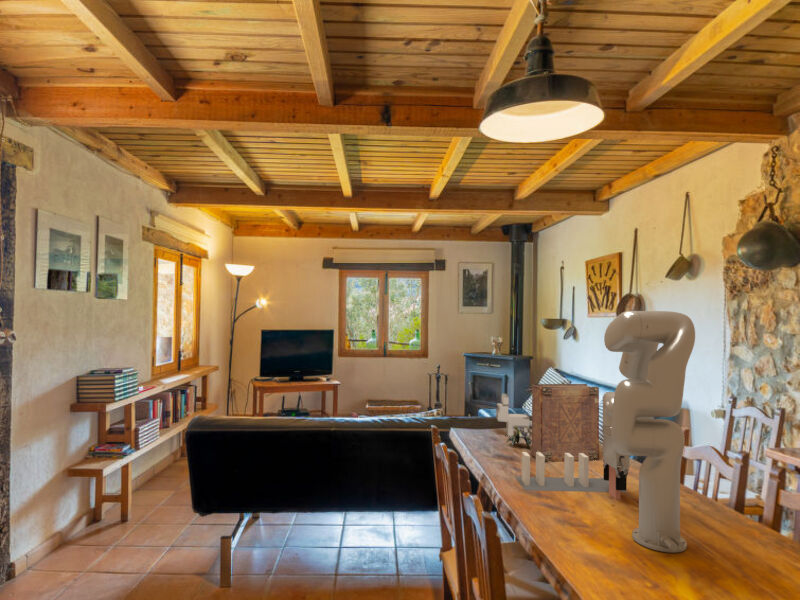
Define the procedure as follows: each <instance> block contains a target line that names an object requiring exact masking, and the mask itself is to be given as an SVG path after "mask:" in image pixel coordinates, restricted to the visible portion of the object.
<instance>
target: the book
mask: <svg viewBox="0 0 800 600" xmlns="http://www.w3.org/2000/svg"><path fill="white" fill-rule="evenodd" d="M531 386H532V387H531V421H532V427H531V432H532V434H531V440H532V441H531V457H533V456H534V457H533V458H535V459H536V452H541V453H542V454H543V455H544V456H545V463H549V462H548V461H564V455H565V453H570V454H571V455H572V456H574V462H579V453H584V454H585V455H586V456H588V457H589V462H591V461H593V460H594V461H595V460H596V461H599V460H600V388H599V387H598V386H590V385H588V384H587V383H544V384H543V383H540V384H539V383H536V384H535V383H534V384H532V385H531ZM596 461H595V462H596Z"/></svg>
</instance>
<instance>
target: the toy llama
mask: <svg viewBox="0 0 800 600" xmlns="http://www.w3.org/2000/svg"><path fill="white" fill-rule="evenodd" d="M509 398H510V397H509V395H508V393H505V392H504V393H503V392H502V393H501V402H496V405H495V406H496V409H495V410H496V411H495V416H496V417H495V418H496V421H497V422H499V423H500V422H502V423H503V422H504V423H506V424H505V425H506V427H505V430H506V431H505V433H506V432H507V434H508V436H514V430H515V426H516V425H517V427H520V428H521V429H522V430H524V431H525V432H527V431H528V430H527V428H529V429H530V428H532V420H530V416H529V415H528V414H525V413H509V403H510V402H509V401H510V399H509ZM527 435H528V436H529V437H530V433H527ZM508 436H507V437H508Z"/></svg>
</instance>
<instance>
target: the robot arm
mask: <svg viewBox="0 0 800 600" xmlns="http://www.w3.org/2000/svg"><path fill="white" fill-rule="evenodd" d="M604 332H605V333H604V336H603V337H604V338H603V339H604V341H603V342H604V346H605V347H606V349H607V350H608V351H609V352H611V353H612V352H613V353H622V354H621V358H620V362H619V366H618V370H619V372H620V373H621V375H622V376H623V377H625V378H626V379H623V380H621V381H619V382H618V383H617V385H616V387H615V389H614V390H615V391H608V392H605V393H604V394H603V397H602V435H603V441H602V442H603V443H602V452H601V453H602V461H603V464H602V467H603V478H604V480H608V481H609V465H610V466H611V467H612V468H614V469H615V470H616V474H617V477H616V490H625V491H627V483H628V482H627V481H628V480H627V479H628V474H629V470H630V466H631V464H630V456H631V457H632V456H633V457H635V456H636V457H645V459H644V460H643V462H642V463H641V465H640V467H639V473H638V527H637V528H634V529H633V530H632V533H631V535H632V536H631V537H632V539H633V540H634V541H635V543H638V544H639V545H641V546H643V547H645V548H647V549H650V550H654V551H657V552H662V553H672V554H673V553H674V554H675V553H682V552H684V551H685V550H687V547H688V543H687V541H686V539H685V538H684V537H682V536H681V467H682V458H683V453H684V448H685V442H686V440H685V439H686V438H685V432H684V430H683V428H682V427H681V425H680V424H678V423H676V422H674V421H672V420H668V419H663V418H669V417H671V418H672V417H675V416H677V415H679V414H680V412H681V410H682V405H683V397H684V390H685V382H686V381H685V380H686V372H687V367H688V363H689V359H690V357H691V354H692V352H693V350H694V347H695V342H696V327H695V324H694V322H693V321H692V319H691V318H690V317H689V316H688V315H686V314H684V313H681V312H676V311H667V310H664V311H663V310H649V311H648V310H627V311H626V310H625V311H623V312H621V313H620V314H618V316H616V317H615V318H614V319H613V320H611V321H610V323H608V325H607V327H606V329H605V331H604ZM659 344H662V346H661V347H659ZM619 470H621V472H620V473H619Z"/></svg>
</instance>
